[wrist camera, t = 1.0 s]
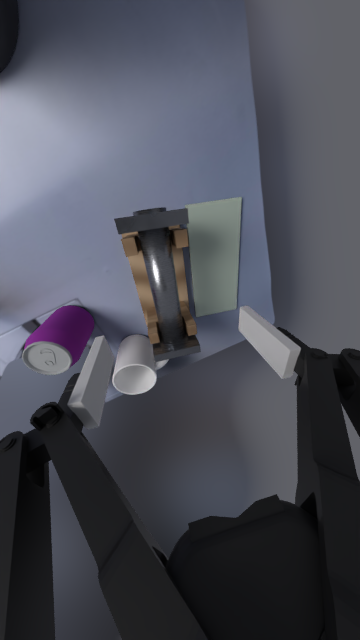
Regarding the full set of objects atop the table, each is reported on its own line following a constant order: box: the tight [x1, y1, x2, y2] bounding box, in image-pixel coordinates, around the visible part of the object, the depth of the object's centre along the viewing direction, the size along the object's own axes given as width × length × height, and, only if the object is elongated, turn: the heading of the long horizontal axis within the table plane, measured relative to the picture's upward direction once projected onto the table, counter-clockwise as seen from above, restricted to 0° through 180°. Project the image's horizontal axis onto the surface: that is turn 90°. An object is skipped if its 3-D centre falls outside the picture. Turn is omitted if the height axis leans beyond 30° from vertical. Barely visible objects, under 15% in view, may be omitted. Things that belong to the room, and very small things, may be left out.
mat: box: [185, 197, 242, 317], centre depth 34 cm, size 22×10×1 cm, turn 8°
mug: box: [112, 334, 169, 394], centre depth 37 cm, size 12×8×10 cm
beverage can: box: [22, 305, 94, 375], centre depth 30 cm, size 8×8×12 cm
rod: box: [114, 208, 201, 362], centre depth 26 cm, size 21×8×8 cm, turn 8°
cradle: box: [121, 225, 197, 344], centre depth 29 cm, size 21×10×11 cm, turn 8°
